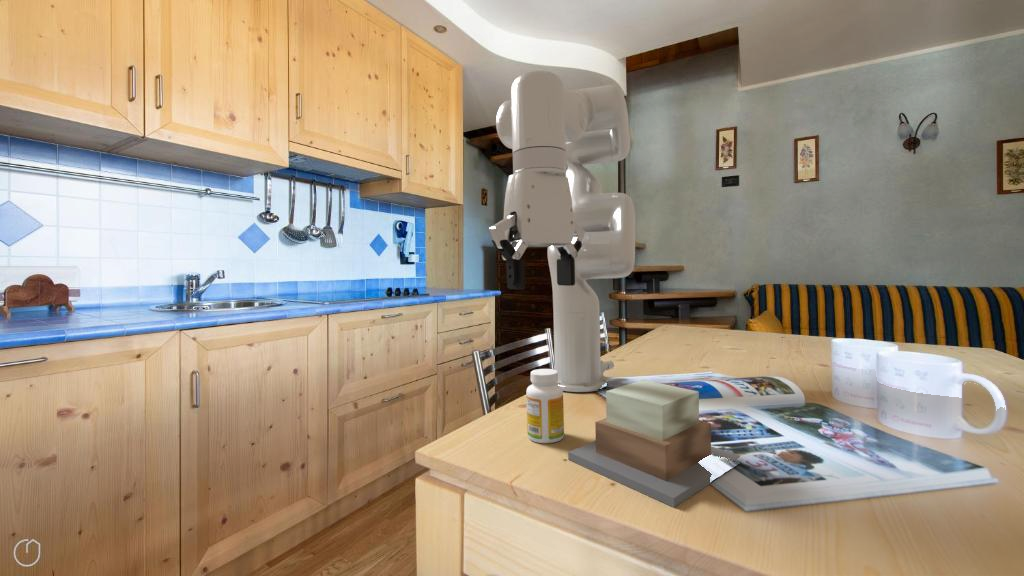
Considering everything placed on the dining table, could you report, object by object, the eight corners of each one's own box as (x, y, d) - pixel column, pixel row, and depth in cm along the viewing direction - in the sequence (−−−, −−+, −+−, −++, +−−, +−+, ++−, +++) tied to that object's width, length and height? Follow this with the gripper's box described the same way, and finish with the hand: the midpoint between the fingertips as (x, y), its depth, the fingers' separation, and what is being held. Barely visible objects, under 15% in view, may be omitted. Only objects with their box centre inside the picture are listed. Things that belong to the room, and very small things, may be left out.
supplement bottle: (563, 430, 67) (562, 367, 66) (564, 444, 62) (563, 376, 61) (528, 429, 67) (526, 367, 67) (526, 444, 62) (524, 376, 62)
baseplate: (638, 430, 66) (638, 423, 66) (740, 463, 54) (740, 455, 54) (568, 459, 57) (568, 451, 57) (673, 507, 45) (673, 498, 45)
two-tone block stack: (642, 432, 63) (641, 377, 62) (711, 455, 55) (710, 391, 54) (595, 452, 56) (594, 391, 56) (665, 481, 49) (665, 409, 48)
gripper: (563, 177, 71) (565, 283, 72) (473, 164, 60) (477, 289, 61) (599, 168, 65) (601, 284, 66) (507, 152, 54) (511, 291, 55)
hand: (542, 287), depth 63 cm, fingers open, 9 cm apart
